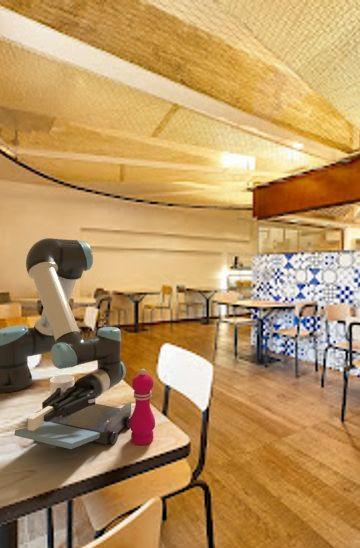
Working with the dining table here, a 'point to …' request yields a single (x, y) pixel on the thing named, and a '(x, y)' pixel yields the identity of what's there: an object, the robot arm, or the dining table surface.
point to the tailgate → (58, 435)
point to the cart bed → (99, 421)
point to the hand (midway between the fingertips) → (30, 424)
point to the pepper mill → (142, 410)
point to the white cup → (61, 382)
